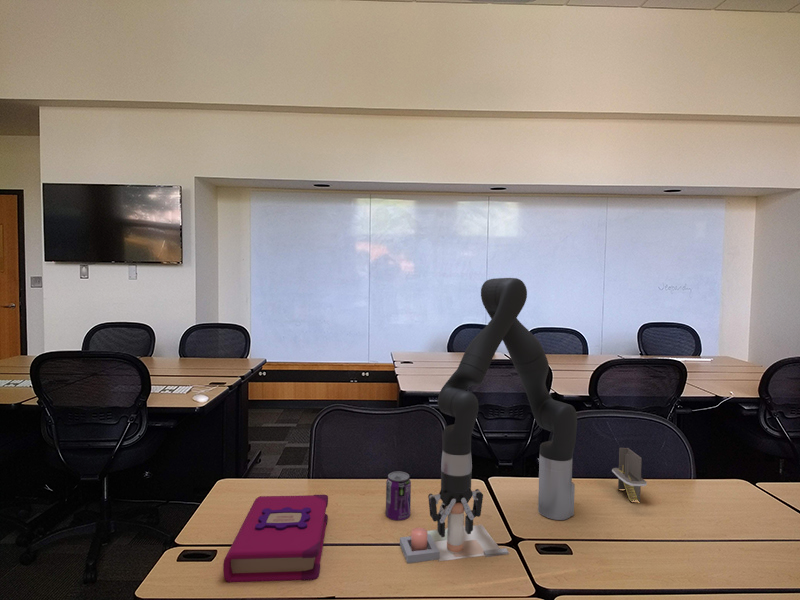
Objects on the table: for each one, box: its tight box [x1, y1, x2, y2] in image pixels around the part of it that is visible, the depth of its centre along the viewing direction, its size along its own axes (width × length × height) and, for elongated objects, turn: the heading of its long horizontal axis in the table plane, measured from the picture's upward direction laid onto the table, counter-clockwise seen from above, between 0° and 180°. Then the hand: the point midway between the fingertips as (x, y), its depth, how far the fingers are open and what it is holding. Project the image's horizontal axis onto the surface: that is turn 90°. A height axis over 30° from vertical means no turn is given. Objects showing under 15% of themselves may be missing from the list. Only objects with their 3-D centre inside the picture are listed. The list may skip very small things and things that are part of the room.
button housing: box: [399, 534, 440, 564], centre depth 114 cm, size 8×8×2 cm
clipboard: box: [427, 524, 510, 562], centre depth 119 cm, size 20×16×1 cm
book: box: [222, 494, 329, 584], centre depth 117 cm, size 21×28×8 cm
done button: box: [410, 527, 428, 551], centre depth 114 cm, size 4×4×4 cm
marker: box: [446, 502, 465, 554], centre depth 115 cm, size 4×4×12 cm
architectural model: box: [611, 447, 648, 503], centre depth 147 cm, size 20×25×15 cm
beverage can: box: [385, 471, 412, 521], centre depth 132 cm, size 7×7×12 cm
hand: (455, 533), depth 115 cm, fingers open, 6 cm apart
